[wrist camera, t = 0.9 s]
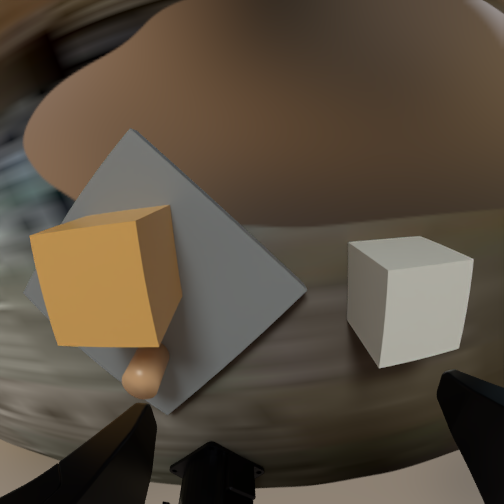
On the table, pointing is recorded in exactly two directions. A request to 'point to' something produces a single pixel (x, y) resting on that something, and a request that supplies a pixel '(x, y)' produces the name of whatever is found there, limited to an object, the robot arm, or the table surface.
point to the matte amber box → (110, 278)
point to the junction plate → (185, 277)
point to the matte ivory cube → (407, 297)
